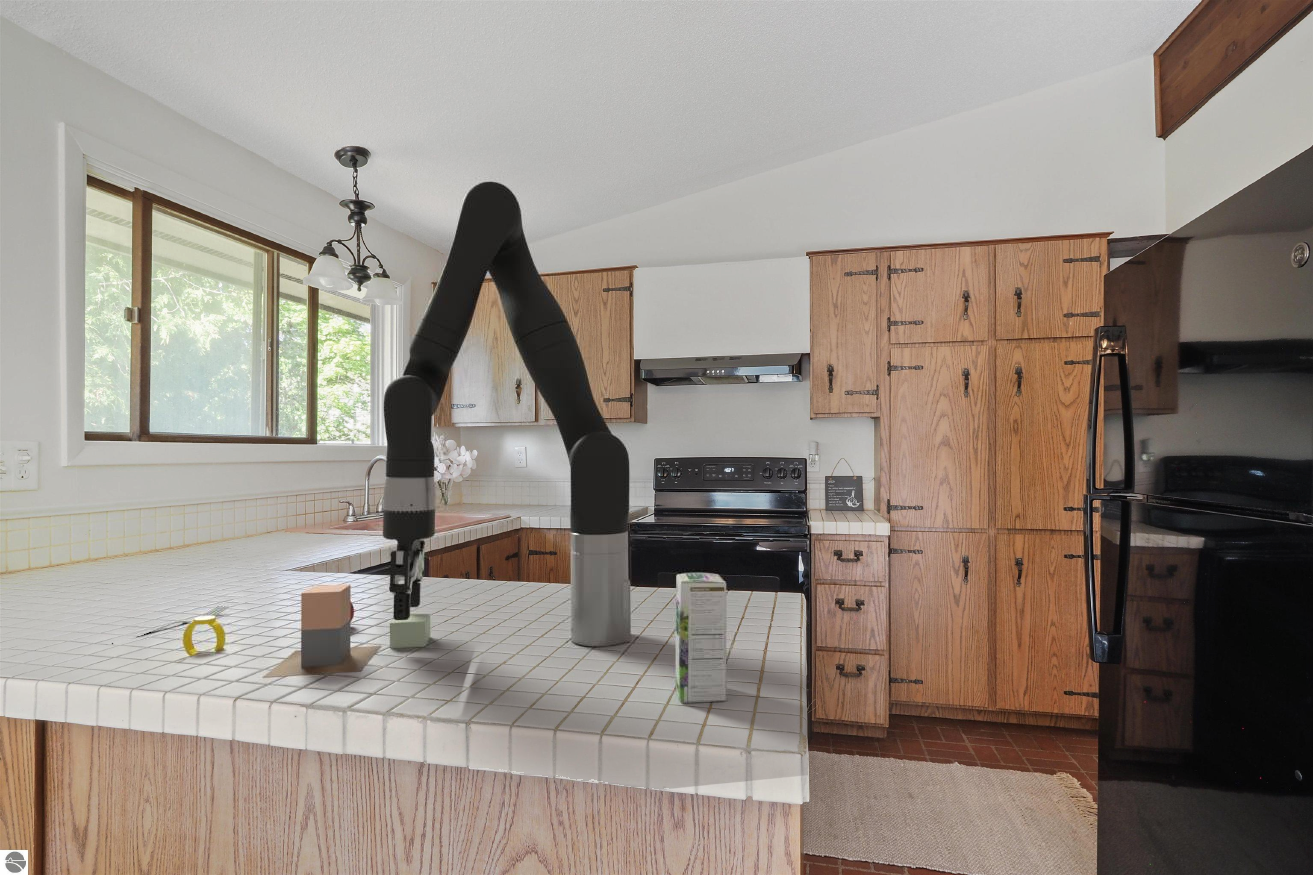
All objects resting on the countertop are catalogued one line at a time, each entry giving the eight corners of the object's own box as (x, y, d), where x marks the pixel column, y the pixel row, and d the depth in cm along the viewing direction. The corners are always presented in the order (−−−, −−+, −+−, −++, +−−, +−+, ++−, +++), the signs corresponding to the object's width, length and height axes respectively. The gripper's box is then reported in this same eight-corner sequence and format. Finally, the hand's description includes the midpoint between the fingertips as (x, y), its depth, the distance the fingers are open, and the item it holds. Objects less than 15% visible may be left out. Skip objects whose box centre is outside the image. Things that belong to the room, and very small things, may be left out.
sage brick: (430, 645, 105) (430, 613, 105) (424, 654, 100) (424, 621, 100) (396, 647, 104) (396, 615, 104) (389, 656, 99) (389, 622, 100)
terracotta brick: (350, 619, 97) (350, 584, 97) (340, 628, 92) (340, 591, 92) (313, 620, 96) (313, 585, 96) (301, 629, 91) (301, 593, 91)
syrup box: (674, 687, 85) (673, 572, 86) (720, 685, 86) (719, 571, 86) (679, 704, 79) (678, 581, 80) (729, 701, 80) (727, 580, 80)
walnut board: (381, 653, 101) (381, 645, 101) (360, 680, 89) (360, 671, 89) (295, 658, 99) (295, 650, 99) (262, 686, 87) (262, 677, 87)
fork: (81, 651, 105) (82, 639, 105) (217, 614, 128) (217, 605, 128) (97, 652, 104) (97, 640, 104) (231, 615, 128) (231, 605, 128)
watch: (228, 656, 101) (231, 617, 101) (213, 662, 98) (216, 621, 98) (192, 652, 102) (195, 613, 102) (177, 658, 99) (180, 617, 99)
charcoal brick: (350, 653, 97) (350, 619, 97) (340, 664, 92) (340, 627, 92) (313, 656, 96) (313, 620, 96) (301, 666, 91) (301, 629, 91)
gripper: (427, 510, 96) (425, 623, 96) (441, 503, 111) (439, 602, 110) (372, 510, 95) (369, 625, 95) (393, 503, 109) (391, 603, 109)
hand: (407, 612), depth 102 cm, fingers open, 8 cm apart
